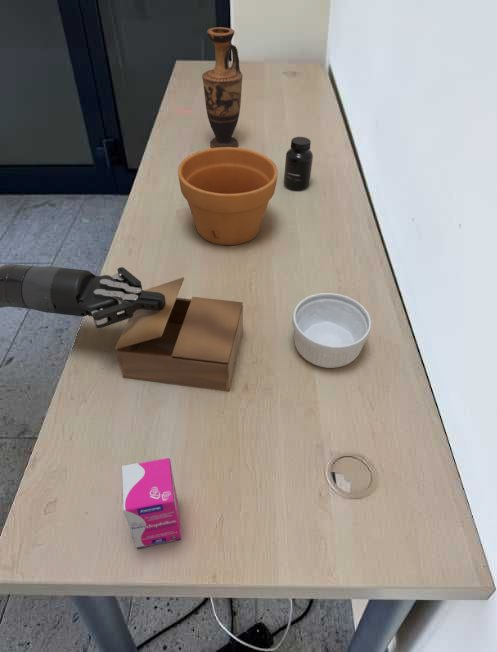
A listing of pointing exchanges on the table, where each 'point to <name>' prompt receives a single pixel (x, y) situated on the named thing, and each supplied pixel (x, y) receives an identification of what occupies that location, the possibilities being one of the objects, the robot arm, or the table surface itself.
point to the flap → (150, 317)
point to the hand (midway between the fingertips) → (163, 302)
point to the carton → (190, 346)
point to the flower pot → (227, 192)
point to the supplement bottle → (298, 164)
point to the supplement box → (151, 502)
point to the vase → (223, 89)
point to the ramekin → (330, 329)
